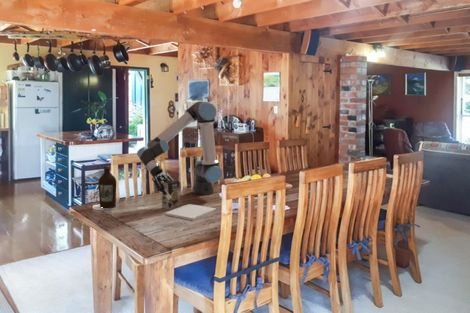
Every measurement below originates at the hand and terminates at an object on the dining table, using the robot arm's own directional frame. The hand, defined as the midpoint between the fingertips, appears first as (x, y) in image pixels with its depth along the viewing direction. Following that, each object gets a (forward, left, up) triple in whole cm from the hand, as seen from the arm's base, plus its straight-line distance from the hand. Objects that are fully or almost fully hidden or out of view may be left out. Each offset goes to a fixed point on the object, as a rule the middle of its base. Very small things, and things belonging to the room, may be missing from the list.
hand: (175, 197), depth 259 cm
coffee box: (0, -3, -7) cm, 8 cm away
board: (+3, +14, -7) cm, 16 cm away
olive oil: (+20, -36, -7) cm, 42 cm away
